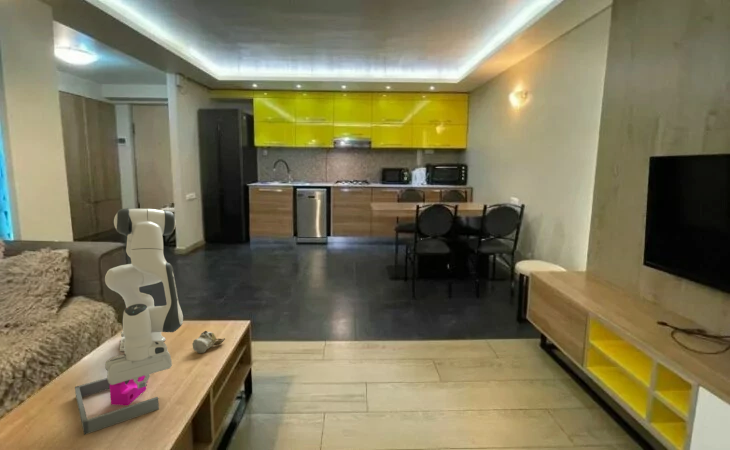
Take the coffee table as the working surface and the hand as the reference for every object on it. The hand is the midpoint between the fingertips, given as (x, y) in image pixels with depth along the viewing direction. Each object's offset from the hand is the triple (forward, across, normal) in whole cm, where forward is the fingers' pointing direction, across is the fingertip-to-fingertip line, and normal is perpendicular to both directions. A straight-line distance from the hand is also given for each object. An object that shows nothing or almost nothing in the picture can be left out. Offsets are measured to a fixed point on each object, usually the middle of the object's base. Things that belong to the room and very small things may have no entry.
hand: (141, 386), depth 147 cm
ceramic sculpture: (+4, +31, +25) cm, 40 cm away
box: (+4, -7, +1) cm, 8 cm away
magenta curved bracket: (+4, -2, +4) cm, 6 cm away
